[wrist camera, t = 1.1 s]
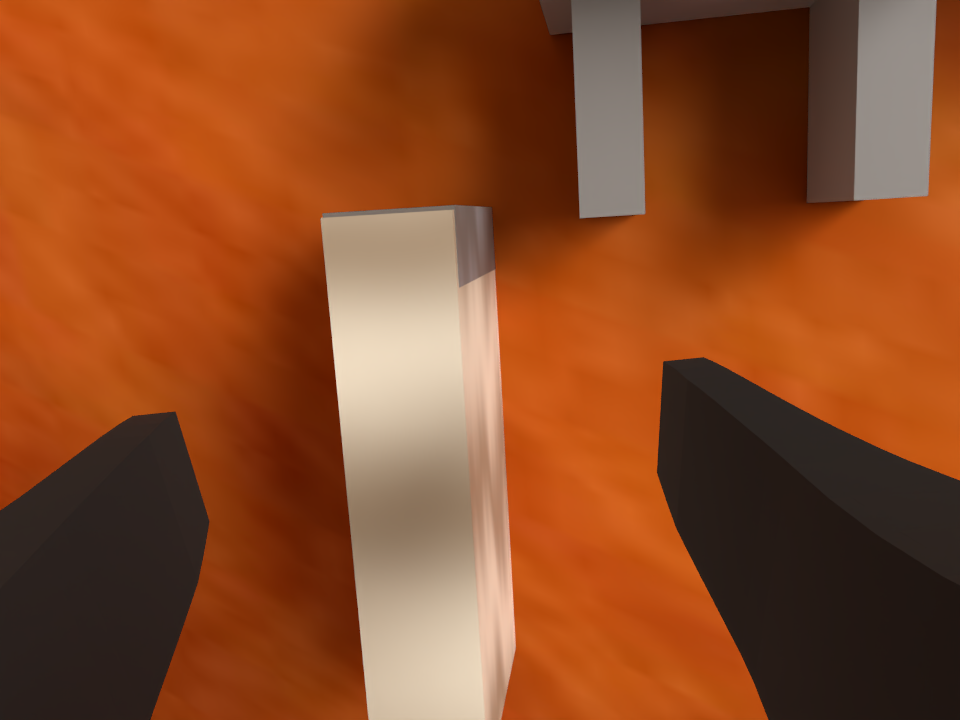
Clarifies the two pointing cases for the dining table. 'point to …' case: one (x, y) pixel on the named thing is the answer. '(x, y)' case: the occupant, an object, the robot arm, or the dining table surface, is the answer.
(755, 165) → the dining table surface
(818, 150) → the grey stepped block
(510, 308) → the dining table surface
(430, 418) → the birch rail
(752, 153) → the dining table surface
